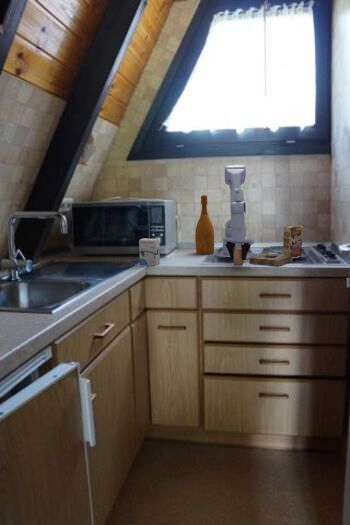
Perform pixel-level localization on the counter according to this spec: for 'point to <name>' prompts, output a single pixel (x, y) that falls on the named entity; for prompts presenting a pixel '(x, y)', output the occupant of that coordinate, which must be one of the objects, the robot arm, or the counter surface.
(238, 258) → the peg
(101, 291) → the counter surface
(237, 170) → the robot arm
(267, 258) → the socket block
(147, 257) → the ink box
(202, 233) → the wine bottle
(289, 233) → the candy box
